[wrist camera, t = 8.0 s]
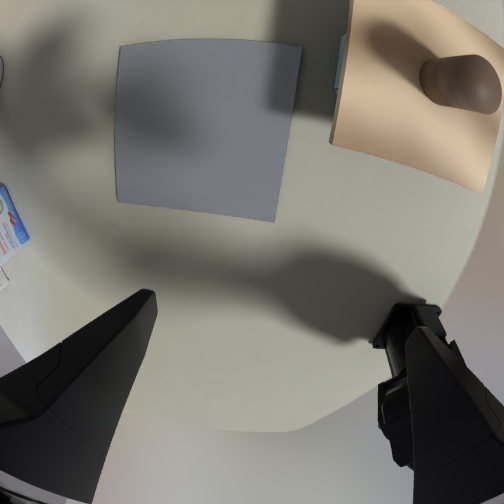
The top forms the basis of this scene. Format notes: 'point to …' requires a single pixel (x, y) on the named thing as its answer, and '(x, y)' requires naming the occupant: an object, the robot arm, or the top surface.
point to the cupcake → (1, 70)
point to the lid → (420, 89)
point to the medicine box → (10, 228)
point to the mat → (204, 124)
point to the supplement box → (3, 280)
